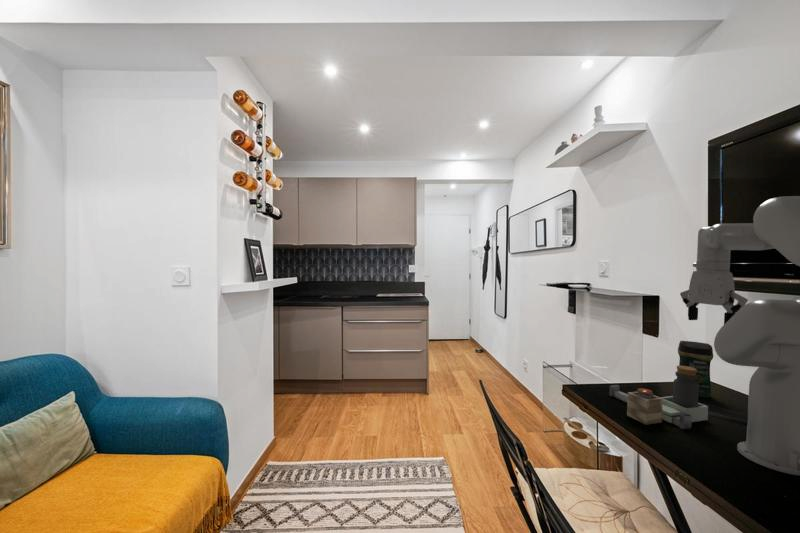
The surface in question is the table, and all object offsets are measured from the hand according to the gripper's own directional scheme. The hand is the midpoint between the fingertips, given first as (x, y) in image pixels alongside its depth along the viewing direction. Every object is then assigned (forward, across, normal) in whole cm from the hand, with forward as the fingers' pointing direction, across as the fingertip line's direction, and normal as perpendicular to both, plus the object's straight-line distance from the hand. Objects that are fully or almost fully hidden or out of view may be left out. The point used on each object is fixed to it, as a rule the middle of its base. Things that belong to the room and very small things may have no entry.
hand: (710, 322), depth 106 cm
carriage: (+28, -1, -11) cm, 30 cm away
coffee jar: (+28, -13, +14) cm, 34 cm away
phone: (+29, +3, +6) cm, 30 cm away
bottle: (+28, 0, -9) cm, 30 cm away
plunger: (+25, -2, -22) cm, 34 cm away
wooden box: (+28, -2, -22) cm, 36 cm away
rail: (+28, -6, -16) cm, 33 cm away
